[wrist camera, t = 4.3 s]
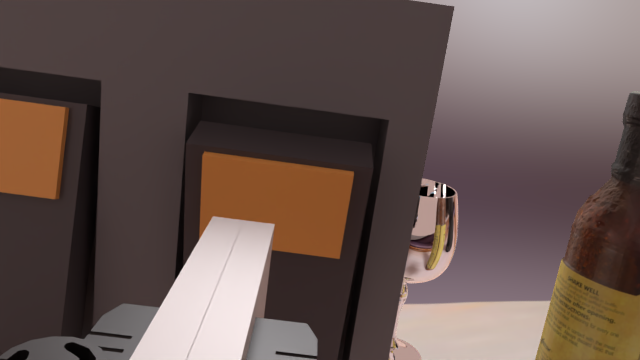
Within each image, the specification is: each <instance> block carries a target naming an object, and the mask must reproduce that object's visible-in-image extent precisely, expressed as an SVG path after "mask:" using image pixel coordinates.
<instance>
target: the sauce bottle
mask: <svg viewBox="0 0 640 360" xmlns="http://www.w3.org/2000/svg"><path fill="white" fill-rule="evenodd" d="M623 124H624V130H623V134H622V138H621V142H620V145H619V148H618V152H617V156H616V160H615V162H614V163H613V164H612V170H611V174H612V177H611V179H610V180H609V181H608V182H607V183H605V184H604V186H603V187H601V188H600V189H599V190H598V191H597V192H596V193H595V194H594V195H591V196H590V197H589V198H588V199H587V201H586V202H585V203H584V205H583V206H582V207H581V208H580V209H579V211H578V212H577V215H576V217H575V221H574V223H573V225H572V230H571V235H570V240H569V243H568V246H567V251H566V254H565V257H564V258H563V259H562V260H561V264H560V268H559V271H558V275H557V279H556V283H555V287H554V291H553V294H552V298H551V302H550V306H549V310H548V314H547V317H546V321H545V325H544V328H543V332H542V336H541V340H540V344H539V347H538V351H537V355H536V359H535V360H640V92H637V91H634V92H631V93H630V95H629V97H628V100H627V103H626V107H625V111H624V113H623Z"/></svg>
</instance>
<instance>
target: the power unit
mask: <svg viewBox="0 0 640 360" xmlns="http://www.w3.org/2000/svg"><path fill="white" fill-rule="evenodd" d="M453 11H454V6H446V5H439V4H432V3H425V2H418V1H411V0H0V93H6V94H13V95H21V96H28V97H35V98H43V99H50V100H57V101H65V102H72V103H80V104H87V105H92V106H97V107H101V111H100V140H99V169H98V197H97V205H96V214H95V223H94V231H93V240H92V249H91V257H90V266H89V275H88V283H87V292H86V301H85V309H84V318H83V327H82V335H81V339H85V338H86V336H87V335H88V334H90V332H91V330H92V328H93V327H94V326H95V325H96V323H97V322H98V321H99V319H100V318H101V317H102V315H104V314H106V313H108V312H109V311H111V310H113V309H115V308H116V307H118V306H120V305H122V304H123V303H125V304H134V305H142V306H150V307H158V308H160V306H161V305H162V303H163V301H164V300H165V298H166V296H167V294H168V293H169V291H170V289H171V288H172V286H173V284H174V282H175V281H176V279H177V277H178V275H179V274H180V272H181V270H182V269H183V249H184V205H185V161H186V142H187V141H188V139H189V138H190V136H191V134H192V133H193V131H194V130H195V128H196V127H197V125H198V124H199V122H200V121H208V122H215V123H222V124H230V125H237V126H244V127H252V128H259V129H267V130H274V131H281V132H289V133H296V134H303V135H311V136H318V137H326V138H333V139H340V140H348V141H355V142H362V143H370V144H371V148H372V159H373V173H372V179H371V184H370V189H369V194H368V200H367V205H366V210H365V215H364V221H363V226H362V231H361V236H360V242H359V247H358V252H357V257H356V263H355V268H354V273H353V278H352V284H351V289H350V294H349V300H348V305H347V310H346V315H345V321H344V326H343V331H342V336H341V342H340V347H339V352H338V357H337V360H388V358H389V353H390V347H391V342H392V337H393V331H394V326H395V321H396V315H397V310H398V305H399V299H400V294H401V289H402V283H403V278H404V273H405V267H406V262H407V257H408V251H409V246H410V241H411V235H412V230H413V225H414V219H415V214H416V208H417V203H418V198H419V192H420V187H421V182H422V176H423V171H424V166H425V160H426V155H427V150H428V144H429V139H430V134H431V128H432V122H433V117H434V112H435V107H436V102H437V96H438V91H439V85H440V80H441V75H442V70H443V64H444V59H445V54H446V48H447V43H448V37H449V32H450V27H451V21H452V16H453Z"/></svg>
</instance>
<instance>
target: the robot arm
mask: <svg viewBox="0 0 640 360" xmlns="http://www.w3.org/2000/svg"><path fill="white" fill-rule="evenodd" d="M274 226H275V224H270V223H262V222H254V221H246V220H238V219H231V218H223V217H215V216H213V217H212V219H211V221H210V222H209V224H208V226H207V227H206V229H205V231H204V233H203V234H202V236H201V238H200V239H199V241H198V243H197V245H196V246H195V248H194V250H193V251H192V253H191V255H190V257H189V258H188V260H187V262H186V263H185V265H184V267H183V269H182V270H181V272H180V274H179V275H178V277H177V279H176V281H175V282H174V284H173V286H172V288H171V289H170V291H169V293H168V294H167V296H166V298H165V300H164V301H163V303H162V305H161V306H160V308H158V307H150V306H142V305H134V304H125V303H123V304H122V305H120V306H118V307H116V308H115V309H113V310H111V311H109V312H108V313H106V314H104V315H102V317H101V318H100V319H99V321H98V322H97V323H96V325H95V326H94V327H93V328H92V330H91V332H90V334H88V335H87V336H86V338H85V339H80V338H76V337H58V336H52V337H46V338H40V339H35V340H30V341H28V342H25V343H23V344H20V345H17V346H15V347H12V348H11V349H9V350H8V351H6V352H5V353H4V354H2V355H1V356H0V360H317V338H316V336H315V335H314V333H313V332H312V330H311V329H310V327H309V326H308V324H307V323H298V322H290V321H282V320H274V319H265V318H264V312H265V304H266V295H267V286H268V278H269V269H270V261H271V252H272V243H273V235H274Z"/></svg>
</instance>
